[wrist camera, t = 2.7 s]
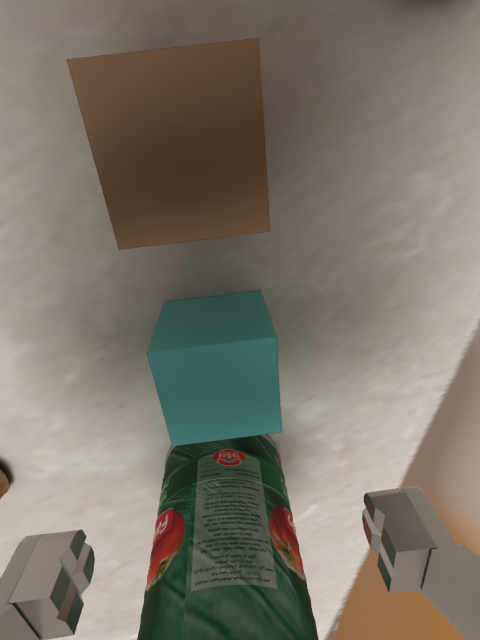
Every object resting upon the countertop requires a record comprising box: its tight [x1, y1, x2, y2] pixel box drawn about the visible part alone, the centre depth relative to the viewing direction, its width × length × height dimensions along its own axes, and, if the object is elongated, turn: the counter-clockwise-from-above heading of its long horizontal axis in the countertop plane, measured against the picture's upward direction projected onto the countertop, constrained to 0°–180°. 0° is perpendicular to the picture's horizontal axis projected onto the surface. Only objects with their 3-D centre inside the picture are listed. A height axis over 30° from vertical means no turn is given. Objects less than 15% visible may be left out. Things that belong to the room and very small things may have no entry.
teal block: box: [147, 290, 282, 446], centre depth 16 cm, size 5×5×5 cm
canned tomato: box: [137, 434, 318, 640], centre depth 18 cm, size 8×8×11 cm
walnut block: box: [67, 38, 270, 250], centre depth 12 cm, size 5×5×5 cm
